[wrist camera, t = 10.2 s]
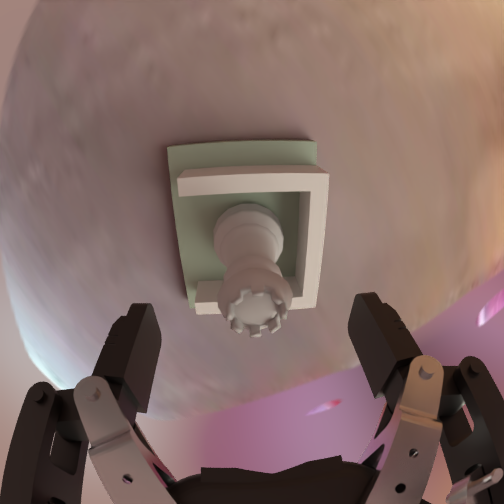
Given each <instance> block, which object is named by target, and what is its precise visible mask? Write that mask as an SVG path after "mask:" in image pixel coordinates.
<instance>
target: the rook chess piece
mask: <svg viewBox="0 0 504 504" xmlns="http://www.w3.org/2000/svg"><path fill="white" fill-rule="evenodd" d="M213 235H214V236H213V237H214V250H215V252H216V254H217V256H218V258H219V260H220V262H221V263H222V264H223V265H225V266H226V267H227V270H226V272H225V274H224V276H223V279H224V283H223V284H222V286H221V288H220V290H219V292H218V294H217V302H218V308H219V310H220V311H221V313H222V315H223V316H224V318H226V321H227V320H229V321H230V322H231V329H232V330H234V331H235V332H237V333H238V334H240V333H241V332H242V331H243V328H244V329H248V330H249V332H250V337H261V329H264V328H267V327H268V328H269V330H270V332H271V333H274V332H275V331H277V330H278V329H279V328H281V325H280V319H287V312H288V310H289V308H290V307H291V303H292V296H293V293H292V291H291V288H290V285H289V283H288V282H287V281H286V280H285V279H284V278H283V277H282V274H281V271H280V269H279V267H278V266H277V265H276V264H275V263H276V262H277V260H278V258H279V256H280V254H281V252H282V250H283V240H284V235H283V230H282V227H281V224H280V222H279V219H278V218H277V217H276V216H275V215H274V214H273V213H272V212H271V211H270V210H269V209H268V208H265V207H263V206H260V205H258V204H239V205H237V206H234V207H232V208H229V209H228V210H227V211H225V212H224V213H223V214H222V215H221V216H220V217H219V218H218V220H217V223H216V225H215V228H214V230H213Z"/></svg>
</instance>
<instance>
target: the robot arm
mask: <svg viewBox="0 0 504 504" xmlns="http://www.w3.org/2000/svg"><path fill="white" fill-rule="evenodd" d="M348 333H349V336H350V339H351V341H352V343H353V346H354V348H355V351H356V353H357V355H358V358H359V360H360V363H361V365H362V367H363V370H364V372H365V375H366V377H367V380H368V382H369V385H370V387H371V390H372V393H373V395H374V398H375V399H376V398H379V397H383V396H385V398H386V403H385V404H384V407H383V410H382V412H381V415H380V418H379V420H378V423H377V425H376V428H375V430H374V433H373V435H372V437H371V440H370V442H369V444H368V446H367V447H366V449H365V450H364V452H363V453H362V455H361V457H360V459H359V460H358V462H357V463H354V462H346V461H342V457H341V455H339V456H335V457H330V458H325V459H320V460H314V461H309V462H306V463H303V464H300V465H298V466H295V467H293V468H290V469H287V470H284V471H281V472H278V473H273V474H270V473H263V472H255V471H249V470H244V469H239V468H204V467H201V474H196V475H192V476H189V477H186V478H184V479H181V480H179V481H177V480H176V479H175V478H174V476H173V475H172V473H171V472H170V471H169V470H168V468H167V467H166V466H165V465H164V464H163V462H162V461H161V460H160V459H159V457H158V456H157V454H156V453H155V451H154V450H153V448H152V447H151V445H150V444H149V442H148V440H147V439H146V437H145V436H144V434H143V432H142V431H141V429H140V427H139V426H138V424H137V422H136V421H135V419H136V414H137V412H141V413H147V408H148V403H149V398H150V393H151V388H152V384H153V379H154V374H155V370H156V365H157V361H158V357H159V352H160V348H161V340H162V339H161V331H160V328H159V325H158V322H157V319H156V315H155V312H154V309H153V306H152V304H150V303H133V304H132V305H131V306H130V309H129V311H128V313H127V316H121V317H120V318H119V319H118V320H117V321H116V322H115V323H114V324H113V325H112V327H111V330H110V332H109V334H108V335H109V336H107V339H106V341H105V345H104V346H103V348H102V351H101V353H100V356H99V358H98V361H97V363H96V366H95V368H94V371H93V373H92V375H91V376H88V377H86V378H84V379H82V380H81V381H80V382H79V383H78V384H77V385H76V387H75V388H74V389H66V390H59V391H56V390H55V389H54V388H53V387H52V386H51V385H50V384H49V383H47V382H38V383H36V384H34V385H33V386H32V387H31V388H30V389H29V390H28V392H27V395H26V398H25V400H24V403H23V406H22V409H21V411H20V414H19V417H18V420H17V423H16V427H15V430H14V433H13V437H12V440H11V444H10V448H9V452H8V456H7V461H6V465H5V470H4V475H3V481H2V487H1V494H0V504H81V494H82V485H83V476H84V469H85V462H86V456H87V450H88V444H89V441H90V444H91V448H90V449H89V456H90V459H91V461H92V463H93V465H94V467H95V469H96V472H97V474H98V476H99V478H100V480H101V481H102V483H103V485H104V487H105V489H106V491H107V493H108V494H109V496H110V498H111V500H112V501H113V503H114V504H431V503H429V502H427V501H425V500H423V499H422V496H423V493H424V491H425V488H426V485H427V482H428V479H429V476H430V473H431V470H432V467H433V463H434V460H435V456H436V453H437V449H438V445H439V441H440V444H441V447H442V450H443V453H444V457H445V460H446V463H447V467H448V470H449V473H450V477H451V480H452V485H453V486H452V488H451V491H450V493H449V494H448V495H447V497H446V503H447V504H504V400H503V398H502V396H501V394H500V392H499V390H498V388H497V386H496V384H495V382H494V381H493V379H492V377H491V375H490V373H489V371H488V370H487V368H486V366H485V365H484V363H483V362H482V361H481V360H480V359H478V358H476V357H472V356H468V357H465V358H464V359H463V360H462V361H461V363H460V364H459V366H442V365H441V364H440V363H439V362H438V361H437V360H436V359H435V358H433V357H430V356H427V355H423V354H422V352H421V350H420V349H419V347H418V345H417V344H416V342H415V340H414V339H413V337H412V335H411V334H410V332H409V331H408V329H406V326H405V324H404V323H403V321H401V318H400V316H399V315H398V313H397V312H396V310H394V309H393V308H392V307H391V306H389V305H388V304H387V303H382V302H381V300H380V299H379V297H378V295H377V294H376V293H375V292H370V293H360V294H357V295H356V296H355V299H354V302H353V306H352V310H351V314H350V318H349V321H348ZM464 404H466V406H467V408H468V411H469V413H470V415H471V418H472V420H473V422H474V430H473V432H472V430H471V428H470V425H469V423H468V420H467V418H466V415H465V413H464V411H463V408H462V406H463V405H464ZM54 433H55V437H54ZM53 437H54V441H53ZM52 442H53V446H52ZM51 446H52V450H51ZM50 450H51V455H50Z"/></svg>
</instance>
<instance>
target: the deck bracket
mask: <svg viewBox="0 0 504 504" xmlns="http://www.w3.org/2000/svg"><path fill="white" fill-rule="evenodd" d="M167 153H168V164H169V174H170V183H171V192H172V201H173V209H174V216H175V224H176V231H177V237H178V244H179V250H180V257H181V263H182V269H183V274H184V280H185V285H186V291H187V296H188V301H189V306H190V308H196V313H197V314H222V313H221V311H220V310H219V308H218V302H217V294H218V292H219V290H220V288H221V286H222V284H223V283H224V279H223V276H224V274H225V272H226V270H227V267H226V266H225V265H223V264H222V263H221V262H220V260H219V258H218V256H217V254H216V252H215V250H214V237H213V236H214V235H213V230H214V228H215V225H216V223H217V220H218V218H219V217H220V216H221V215H222V214H223V213H224V212H225V211H227V210H228V209H229V208H232V207H234V206H237V205H239V204H258V205H260V206H263V207H265V208H268V209H269V210H270V211H271V212H272V213H273V214H274V215H275V216H276V217H277V218H278V219H279V222H280V224H281V227H282V230H283V235H284V240H283V250H282V252H281V254H280V256H279V258H278V260H277V262H276V263H275V264H276V265H277V266H278V267H279V269H280V271H281V274H282V277H283V278H284V279H285V280H286V281H287V282H288V283H289V285H290V288H291V291H292V293H293V296H292V303H291V307H290V308H289V310H291V309H303V308H314V307H316V300H317V293H318V286H319V278H320V270H321V262H322V254H323V245H324V235H325V225H326V213H327V201H328V186H329V173H328V172H326V171H324V170H323V169H321V168H320V167H318V166H316V155H317V142H316V141H313V140H234V141H215V142H202V143H190V144H180V145H171V146H169V147H167Z"/></svg>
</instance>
